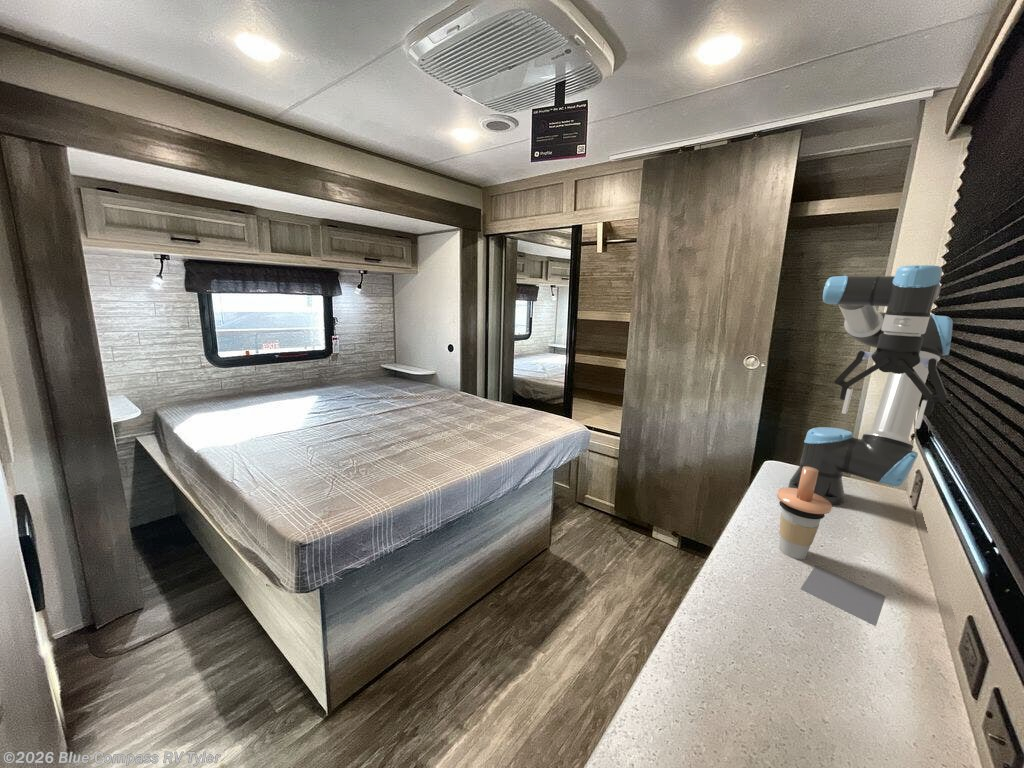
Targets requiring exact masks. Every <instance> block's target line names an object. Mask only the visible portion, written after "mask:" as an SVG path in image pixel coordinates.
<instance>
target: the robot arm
mask: <svg viewBox="0 0 1024 768" xmlns="http://www.w3.org/2000/svg"><path fill="white" fill-rule="evenodd" d="M942 273H943V268H942V267H941V266H940V265H932V264H931V265H930V264H929V265H928V264H927V265H926V264H925V265H924V264H923V265H918V264H917V265H916V264H915V265H901V266H900V267H898V268H897V269H896V272H895V275H893V276H892V275H886V276H885V275H883V276H882V275H881V276H880V275H879V276H877V275H875V276H874V275H868V276H867V275H845V274H844V275H839V276H838V275H836V276H830V277H829V278H828V279H827V280H826V282H825V283H824V287H823V293H822V301H823V303H824V304H827V305H833V306H836V305H838V307H839V310H840V311H841V314H842V316H843V318H844V322H843V327H844V330H845V331H846V333H847V334H848V336H850V337H851V338H852V339H854V340H855V341H857V342H859V343H861V344H863V345H865V346H868V347H872V348H874V349H875V348H876V349H875V351H874V352H869V351H866V350H864V349H862V350H859V351H858V352H857V354H856V357H855V359H854V360H853V361H852V362H851V363H850V364H849V365H848V366H847V368H845V369H844V370H843V371H842V373H840V375H838V377H837V378H836V379H835V380H834V384H835V385H838V386H840V387H841V392H840V396H839V399H840V400H841V401H843V405H842V410H841V414H844V415H846V414H847V413H848V412H849V407H850V403H851V399H852V396H853V391H854V387H851V386H852V385H855V383H858V382H859V381H861V380H862V379H864V378H865V377H867V376H869V375H870V374H872V373H874V372H876V371H877V370H879V371H881V372H882V373H888V375H887V377H886V381H885V384H884V387H883V390H882V394H881V398H880V401H879V404H878V407H877V410H876V413H875V417H874V420H873V424H872V426H871V430H869V431H867V432H865V433H862V437H861V438H857V437H854V434H853V432H852V431H849V430H846V429H843V428H838V427H827V426H826V427H824V426H823V427H822V426H820V427H813V428H810V429H809V430H808V431H807V432H806V436H805V439H804V441H803V442H804V445H803V448H802V453H801V458H800V462H799V465H798V468H797V470H796V471H795V472H794V473H793V475H792V476H791V478H790V480H789V483H788V488H797V489H798V486H799V482H800V477H801V473H802V468H803V467H804V466H807V467H812V468H815V469H817V470H818V471H819V472H818V476H817V480H816V485H815V489H814V493H815V494H817V495H820V496H822V497H823V498H825V499H827V500H828V501H829V502H830V503H831V504H832V506H836V505H840V504H842V503H844V499H845V491H844V485H843V476H844V475H843V474H844V473H845V474H849V475H853V476H855V477H859V478H862V479H865V480H869V481H873V482H876V483H878V484H883V485H887V486H890V487H891V486H892V487H900V486H902V485H903V484H904V483H905V481H906V480H907V478H908V476H909V475H910V472H911V470H912V469H913V466H914V464H915V462H916V459H917V458H918V456H919V454H918V452H916V450H915V451H914V450H913V449H914V444H913V443H912V442H911V441H910V439H909V437H910V435H911V431H912V428H913V425H914V422H915V418H916V414H917V411H918V409H919V411H918V415H917V418H916V422H915V425H914V429H917V430H919V429H920V428H921V426H922V422H923V418H924V416H928V417H929V416H931V414H932V413H933V410H934V406H935V404H936V403H938V402H943V403H944V402H947V401H948V399H949V396H948V393H947V391H946V388H945V386H944V383H943V381H942V377H941V376H940V374H939V370H938V368H937V365H938V363H939V361H940V360H941V357H942V356H949V354H950V349H951V341H952V334H953V326H954V323H953V319H952V318H951V317H949V316H947V315H937V314H936V315H935V314H931V311H932V308H933V305H934V304H935V303H934V302H935V301H936V300H937V299H938V298H939V296H940V293H941V285H940V282H941V280H942ZM876 307H886V311H885V312H884V311H883V312H882V311H878V310H877V308H876ZM869 358H871V359H872V360H873V362H874V363H875V364H874V365H872V366H870V367H868V368H867V369H866V370H863V371H862V372H860V373H858V374H857V375H855V376H854V377H852V378H851V379H849V380H848V381H846V378H848V377H849V376H850V374H852V372H853V371H854V370H855V369H856V368H857V367H858V366H859V365H860V364H861V363H862V362H863V361H866V360H868V359H869ZM928 376H929V377H930V379H931V381H932V383H933V387H934V389H935V392H936V395H934V394H933V392H932V391H931V390H930V388H929V387H928V386H927V384H926V382H927V379H928ZM922 396H923V397H924V398H925V399H923V400H922V401H921V398H922ZM920 402H921V404H920ZM919 405H920V408H919Z"/></svg>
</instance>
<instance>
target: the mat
mask: <svg viewBox="0 0 1024 768" xmlns="http://www.w3.org/2000/svg"><path fill="white" fill-rule="evenodd" d="M800 591H803V592H805V593H807V594H809V595H811V596H813V597H815V598H817V599H819V600H821V601H824V602H826V603H827V604H829V605H832V606H834V607H836V608H838V609H839V610H842V611H844V612H846V613H848V614H850V615H852V616H854V617H856V618H858V619H860V620H862V621H864V622H866V623H869V624H871V625H872V626H874V627H876V626H877V623H878V619H879V616H880V613H881V610H882V607H883V604H884V602H885V599H886V595H884V594H882V593H879V592H877V591H876V590H873V589H871V588H869V587H866V586H865V585H861V584H859V583H857V582H854V581H853V580H851V579H848V578H846V577H843V576H841V575H839V574H837V573H835V572H832V571H830V570H828V569H825V568H823V567H821V566H819V565H814V567H813V569H812V570H811V571H810V573H809V575H808V576H807V578H806V580H805V581H804V582H803V584H802V585H801V587H800Z"/></svg>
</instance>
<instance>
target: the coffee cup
mask: <svg viewBox="0 0 1024 768" xmlns="http://www.w3.org/2000/svg"><path fill="white" fill-rule="evenodd" d="M778 505H779V506H780V507H781V513H780V522H779V531H778V532H779V540H778V550H779V551H780V553H782V554H783V555H785V556H787V557H789V558H792V559H796V560H806V557H807V555H808V553H809V551H810V548H811V545H813V542H814V539H815V537H816V535H817V532H818V529H819V527H820V522H821V520H822V519H824V518H825V515H826V514H813V513H807V512H803V511H800V510H797V509H794V508H792V507H790V506H788V505H786V504H784V503H783V502H781V501H780V500H779V504H778Z"/></svg>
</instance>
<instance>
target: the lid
mask: <svg viewBox="0 0 1024 768" xmlns="http://www.w3.org/2000/svg"><path fill="white" fill-rule="evenodd" d="M818 472H819V471H818V470H817V469H815V468H812V467H807V466H804V467H803V468H802V473H801V477H800V482H799V486H798V489H797V488H789V487H782V488H778V490H777V493H776V497H777V499H778V500H779V502H780V501H781V502H783V503H784V504H786V505H788V506H790V507H792V508H794V509H797V510H800V511H803V512H807V513H813V514H824V515H827V514H829V513H831V512H832V508H833V505H832V504H831V503H830V502H829V501H828V500H827V499H825V498H823V497H822V496H820V495H817V494H815V493H814V489H815V485H816V480H817V476H818Z"/></svg>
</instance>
